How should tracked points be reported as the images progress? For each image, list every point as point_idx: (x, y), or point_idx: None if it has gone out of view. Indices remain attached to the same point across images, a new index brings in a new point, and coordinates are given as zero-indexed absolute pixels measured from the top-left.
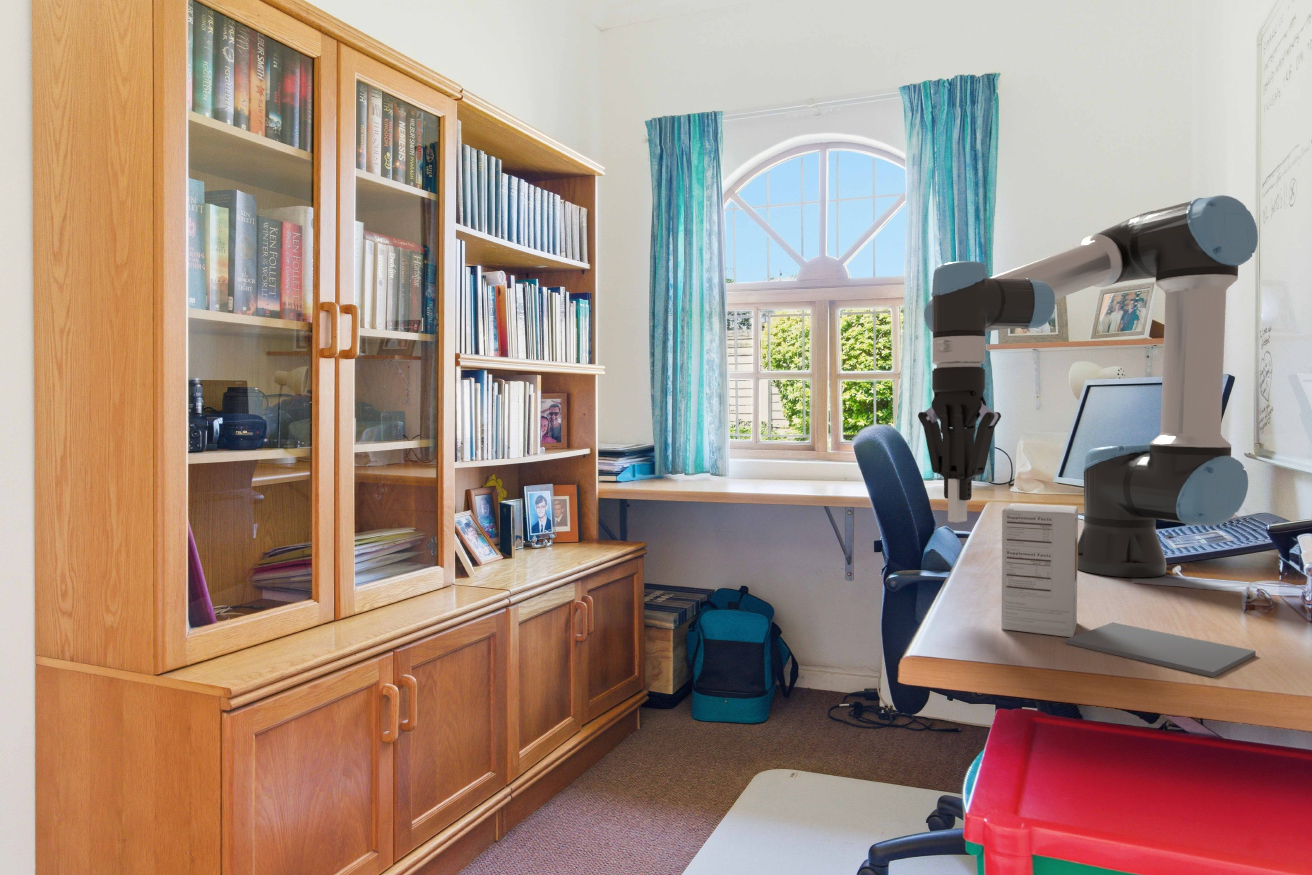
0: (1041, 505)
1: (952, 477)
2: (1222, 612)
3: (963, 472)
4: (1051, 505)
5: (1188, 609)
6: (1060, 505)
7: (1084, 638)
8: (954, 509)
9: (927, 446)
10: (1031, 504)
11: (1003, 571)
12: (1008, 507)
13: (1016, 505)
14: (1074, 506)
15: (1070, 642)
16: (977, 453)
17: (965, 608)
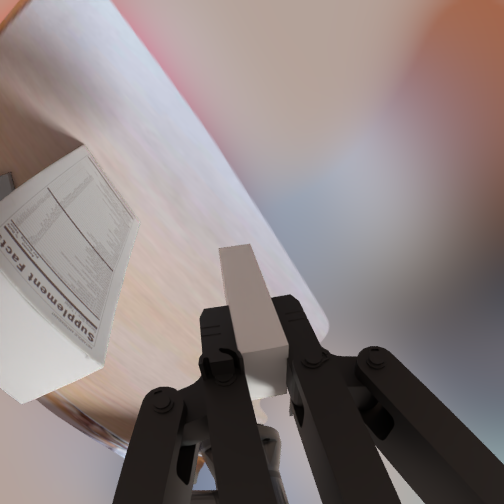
0: (26, 369)
1: (287, 369)
2: (76, 397)
3: (209, 392)
4: (27, 383)
5: (91, 389)
6: (28, 394)
7: (2, 197)
8: (232, 270)
9: (470, 431)
10: (55, 375)
11: (43, 169)
12: (10, 290)
13: (42, 337)
14: (16, 399)
15: (4, 174)
16: (126, 494)
17: (206, 197)
